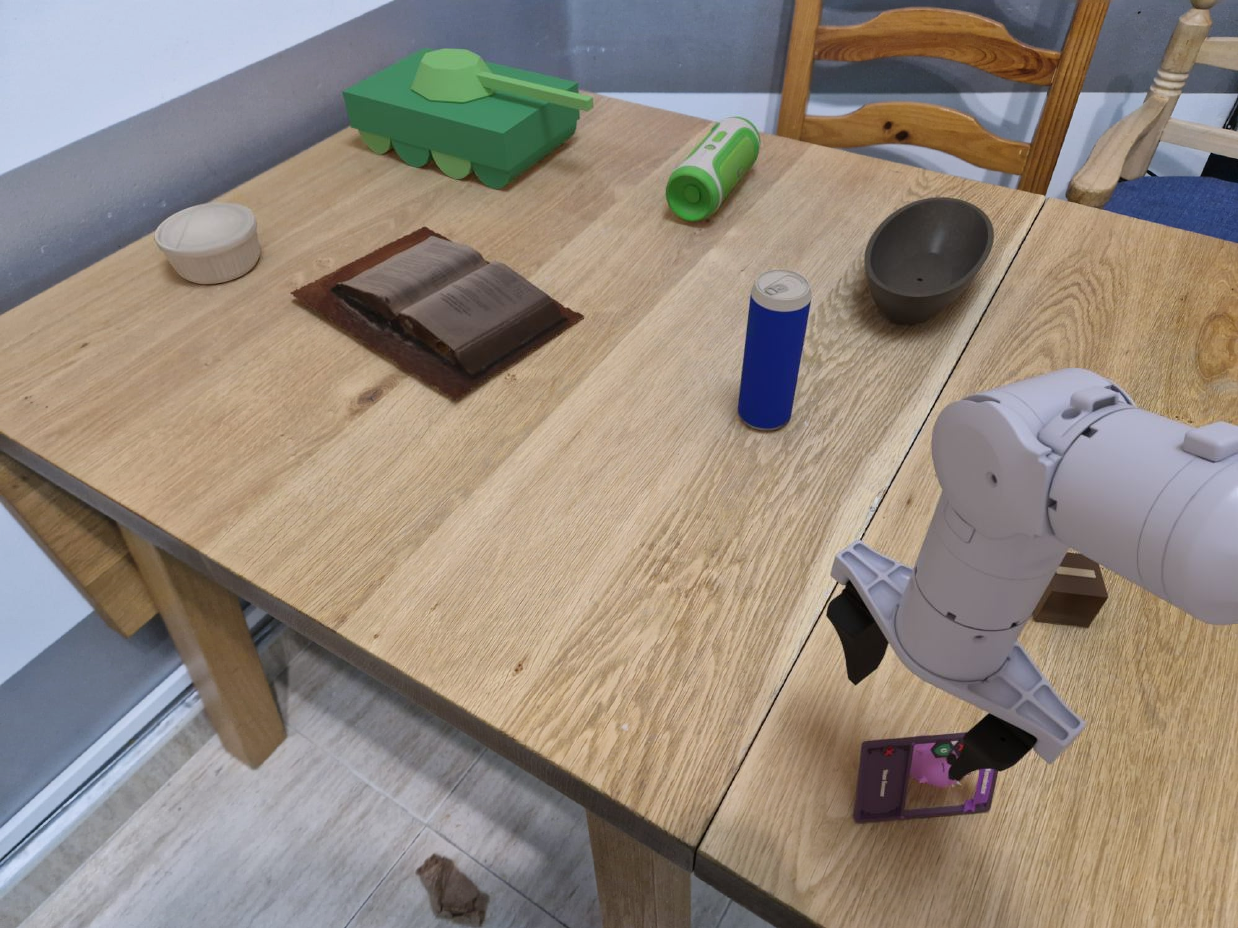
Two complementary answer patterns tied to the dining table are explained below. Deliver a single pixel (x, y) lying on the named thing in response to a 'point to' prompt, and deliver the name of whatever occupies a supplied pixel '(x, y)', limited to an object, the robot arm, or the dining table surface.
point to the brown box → (1073, 593)
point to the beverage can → (773, 348)
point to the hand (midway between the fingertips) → (911, 718)
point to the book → (439, 309)
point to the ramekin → (210, 242)
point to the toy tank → (465, 114)
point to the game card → (921, 759)
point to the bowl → (926, 257)
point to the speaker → (713, 169)
